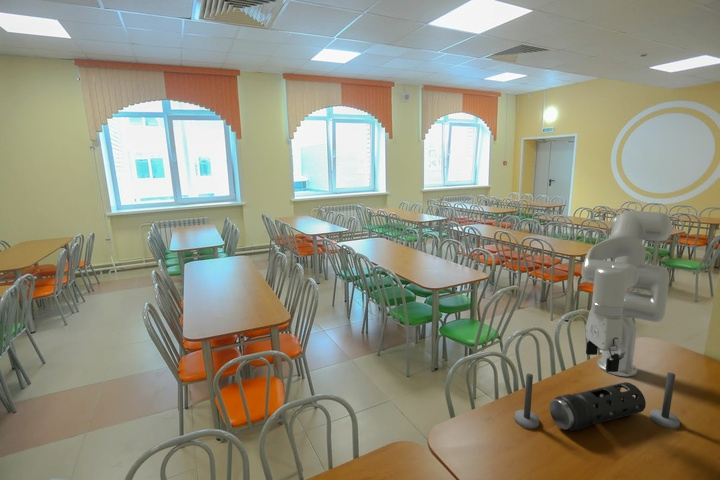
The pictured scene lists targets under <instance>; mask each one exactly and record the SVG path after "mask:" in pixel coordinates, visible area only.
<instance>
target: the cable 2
mask: <svg viewBox="0 0 720 480" xmlns="http://www.w3.org/2000/svg"><path fill="white" fill-rule="evenodd" d="M675 379H676V374H675V373H674V372H667V374H666V381H665V387H664V388H665V389H664V396H663V400H662V408H661V409H660V408H659V409H657V408H654V409H651V410H650V413H649V414H650V415H649V418H650V420H651V421H652V422H653V423H654V424H657V425H658V426H660V427H663V428H666V429H671V430H676V429H678V428H680V425H681V420H680V418H679V417H678V416H677V415H675V414H674V413H672V412H671V407H672V400H673V393H674V388H675V387H674V385H675V381H676V380H675Z"/></svg>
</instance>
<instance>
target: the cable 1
mask: <svg viewBox="0 0 720 480" xmlns="http://www.w3.org/2000/svg"><path fill="white" fill-rule="evenodd" d="M533 379H534V375H533V374H532V373H526V378H525V392H524V393H525V394H524V407H523V409H519V410H516V411H515V413H514V421H515V423H516V424H517V425H519V427H521V426H522V428H524V429H528V430H536V429H537V428H538V427H539V426H540V418H539V416H538V415H537V414H536V413H535V412H533V411H531V410H532V397H533V396H532V394H533Z"/></svg>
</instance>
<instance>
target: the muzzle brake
mask: <svg viewBox="0 0 720 480" xmlns="http://www.w3.org/2000/svg"><path fill="white" fill-rule="evenodd" d="M622 388H623V389H625V390H626V391H621V390H622ZM634 396H635V397H634ZM646 404H647V402H646V399H645V396H644V394H643V392H642V391H641V390H640V389H639V388H638V387H637V386H636V385H634V384H632V383H631V382H627V381H626V382H619V383H616V384H612V385H611V384H610V385H607V386H603V387H598V388H594V389H593V388H592V389H588V390H585V391H580V392H576V393H573V394H572V393H566V394H563V395H557V396H556V397H555V398H554V399H553V400H551V401H550V403H549V414H550V415H551V418H552V420H553V422H554V424H555V425H556V426H557V427H558V428H560V429H562V430H569V431H576V430H581V429H583V428H586V427H587V426H591V425H595V424H600V423H603V422H607V421H612V420H615V419H619V418H622V417H627V416H631V415H634V414H639V413H642V412H643V411H644V410H645V409H646Z"/></svg>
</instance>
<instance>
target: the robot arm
mask: <svg viewBox="0 0 720 480" xmlns="http://www.w3.org/2000/svg"><path fill="white" fill-rule="evenodd" d="M610 227H611V228H610V229H611V231H610V235H609V237H608V238H606V239H605V240H602V241H600V242H598V243H597V244H595V245H593V246H592V247H590V249H589V250H588V251H587V253H586V255H585V258H584V261H583V263H582V266H581V271H580V274H581V277H582V279H583V280H584V281H585V282H587V283H590V284H593V287H592V300H591V301H592V302H591V308H590V310H589V312H588V316H587V321H586V324H584V329H585V337H586V338H585V341H586V349H585V354H586V355H587V356H589V355H590V356H594V355H595V356H596V355H597V356H598V350H599V349H600V350H599V354H602V355H601V357H600V358H598V359H597V362H596V363H597V366H598V367H599V368H600V369H601V370H602V371H604V372H606V373H608V374H611V375H615V376H619V377H634V376H636V375H637V373H638V369H637V367H636V366H635V365H633V364H634V363H633V362H634V355H635V350H636V349H635V348H636V339H637V333H638V330H637V326H636V323H635V322H634V321H633V319H636V320H642V321H647V322H651V323H652V322H653V323H659V322H661V321H662V320H663V319H664V317H665V313H666V308H667V300H668V291H669V284H670V273H669V271H668V269H667V268H666V267H664V266H661V265H657V264H648V263H645V261H646V254H647V251H646V250H647V249H646V247H645V246H644V245H643V244H642V240H645V241H658V242H665V241H667V240H668V239H669V238H670V237H671V234H672V230H673V222H672V220H671V218H670V216H669V215H668V214H666V213H664V212H658V211H641V210H640V211H639V210H637V211H635V210H628V211H623V212H621V213H620V214H619V215H617V216H614V217H613V218H612V219H611V222H610ZM608 259H609V260H608ZM610 259H616V261H611V260H610ZM628 289H635V290H636V289H637V290H642V291H643V290H644V291H648V292H649V293H650V294H647V293H641V292H636V291H630V290H628ZM598 348H599V349H598Z"/></svg>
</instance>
